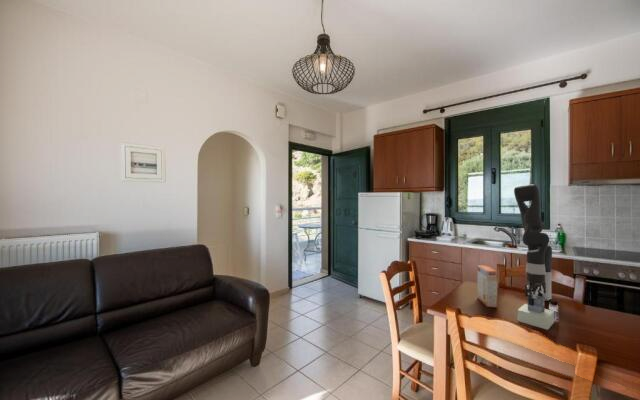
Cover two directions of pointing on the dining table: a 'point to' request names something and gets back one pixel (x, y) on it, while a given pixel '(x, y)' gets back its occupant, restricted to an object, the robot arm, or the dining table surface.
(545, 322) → the sage block
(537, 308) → the slate block
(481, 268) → the cracker box
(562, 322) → the dining table surface
